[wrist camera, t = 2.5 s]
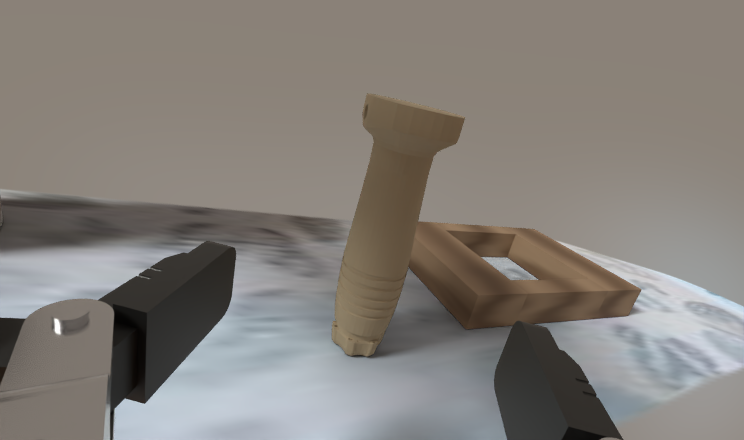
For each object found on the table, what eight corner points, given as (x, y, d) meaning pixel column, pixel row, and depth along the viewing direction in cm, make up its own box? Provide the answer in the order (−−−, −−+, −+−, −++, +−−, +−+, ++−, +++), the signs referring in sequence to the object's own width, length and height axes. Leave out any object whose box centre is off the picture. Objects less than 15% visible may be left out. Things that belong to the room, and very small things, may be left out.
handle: (380, 315, 28) (436, 108, 23) (403, 381, 22) (485, 123, 17) (315, 310, 27) (359, 90, 22) (321, 379, 21) (383, 100, 16)
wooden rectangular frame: (466, 329, 29) (478, 295, 28) (389, 245, 41) (395, 220, 40) (627, 315, 38) (641, 289, 37) (525, 250, 49) (534, 229, 48)
